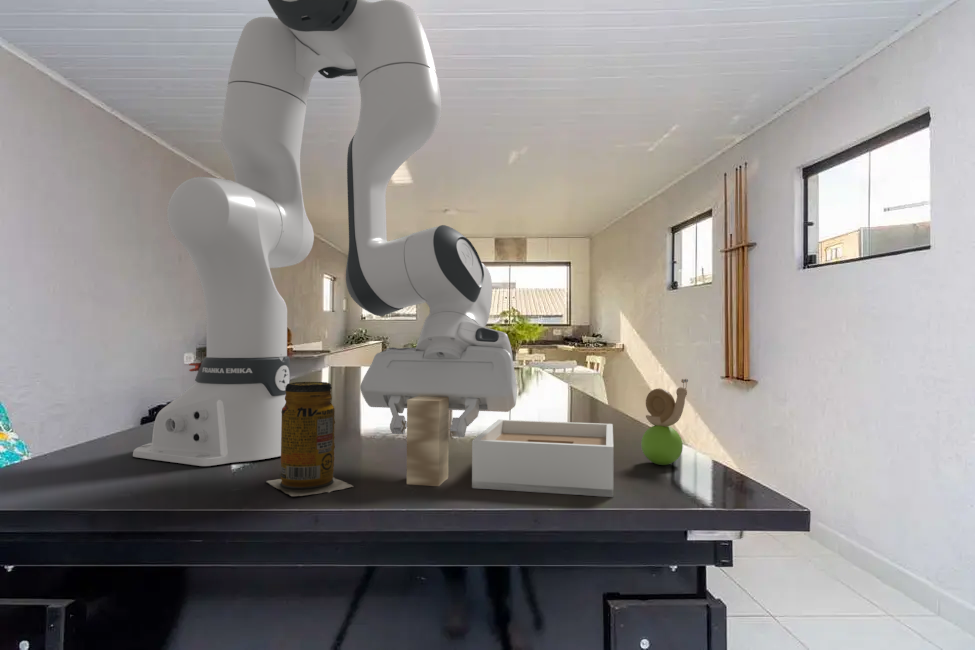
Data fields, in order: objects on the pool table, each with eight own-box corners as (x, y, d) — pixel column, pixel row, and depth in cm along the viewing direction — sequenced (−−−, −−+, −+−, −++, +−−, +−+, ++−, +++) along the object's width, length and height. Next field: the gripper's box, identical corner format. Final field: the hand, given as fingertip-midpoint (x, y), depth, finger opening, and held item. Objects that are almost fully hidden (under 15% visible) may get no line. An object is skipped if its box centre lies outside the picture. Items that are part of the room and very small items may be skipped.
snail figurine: (675, 472, 74) (675, 379, 74) (633, 464, 79) (633, 376, 79) (696, 466, 77) (697, 377, 77) (655, 458, 82) (655, 374, 82)
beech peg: (406, 484, 68) (407, 399, 68) (417, 475, 72) (418, 396, 72) (438, 486, 67) (439, 400, 67) (448, 477, 71) (448, 397, 71)
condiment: (323, 473, 73) (324, 379, 73) (353, 488, 66) (354, 384, 66) (265, 483, 68) (266, 382, 68) (291, 499, 62) (292, 388, 62)
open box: (472, 488, 66) (472, 440, 66) (498, 458, 82) (498, 419, 82) (613, 497, 63) (613, 446, 63) (612, 463, 78) (612, 423, 79)
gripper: (371, 332, 78) (338, 413, 69) (519, 333, 74) (505, 420, 65) (384, 363, 83) (354, 443, 73) (524, 365, 79) (511, 451, 69)
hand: (426, 432), depth 69 cm, fingers open, 6 cm apart
